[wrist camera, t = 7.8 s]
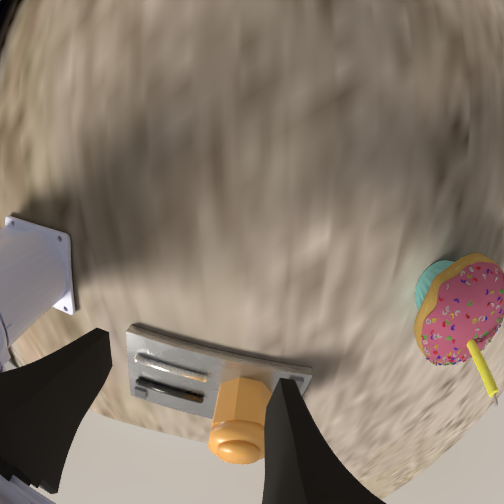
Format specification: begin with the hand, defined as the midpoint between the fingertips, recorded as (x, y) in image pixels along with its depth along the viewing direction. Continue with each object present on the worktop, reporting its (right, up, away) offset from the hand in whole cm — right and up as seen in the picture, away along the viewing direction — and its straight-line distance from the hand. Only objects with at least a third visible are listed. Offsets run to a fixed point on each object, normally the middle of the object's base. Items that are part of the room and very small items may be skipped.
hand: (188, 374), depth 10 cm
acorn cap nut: (+2, -8, +12) cm, 15 cm away
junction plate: (-1, -7, +13) cm, 15 cm away
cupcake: (+18, +2, +9) cm, 20 cm away
